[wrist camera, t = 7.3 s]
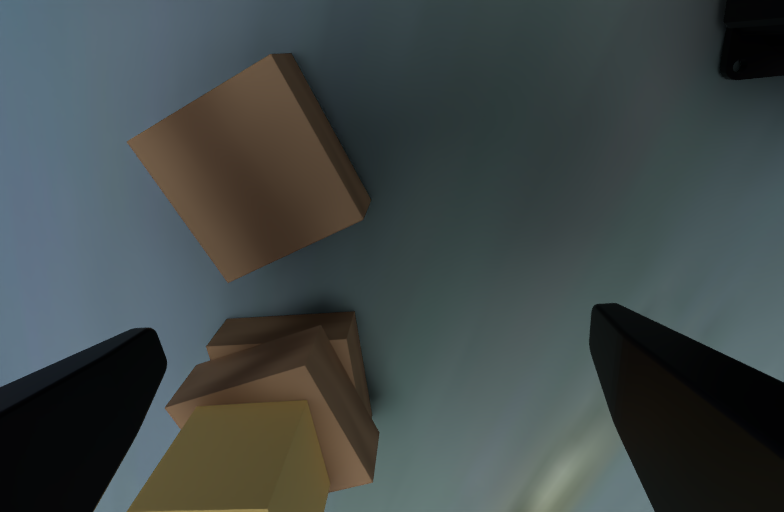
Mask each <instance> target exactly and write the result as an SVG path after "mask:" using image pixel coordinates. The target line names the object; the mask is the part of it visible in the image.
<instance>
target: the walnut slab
mask: <svg viewBox="0 0 784 512" xmlns="http://www.w3.org/2000/svg"><path fill="white" fill-rule="evenodd" d="M127 143H128V144H129V146H130V147H131V148H132V150H133V151H134V153H135V154H136V155H137V157H138V158H139V160H140V161H141V162H142V164H143V165H144V167H145V168H146V169H147V171H148V172H149V173H150V175H151V176H152V178H153V179H154V180H155V182H156V183H157V185H158V186H159V187H160V189H161V190H162V192H163V193H164V194H165V196H166V197H167V199H168V200H169V201H170V203H171V204H172V206H173V207H174V208H175V210H176V211H177V213H178V214H179V215H180V217H181V218H182V220H183V221H184V222H185V224H186V225H187V226H188V228H189V229H190V231H191V232H192V233H193V235H194V236H195V238H196V239H197V240H198V242H199V243H200V245H201V246H202V247H203V249H204V250H205V252H206V253H207V254H208V256H209V257H210V259H211V260H212V261H213V263H214V264H215V266H216V267H217V268H218V270H219V271H220V273H221V274H222V275H223V277H224V278H225V279H226V281H227V282H228V283H229V282H231V281H233V280H235V279H238V278H240V277H242V276H244V275H246V274H248V273H250V272H252V271H255V270H257V269H259V268H261V267H263V266H265V265H267V264H270V263H272V262H274V261H276V260H278V259H280V258H282V257H285V256H287V255H289V254H291V253H293V252H295V251H297V250H300V249H302V248H304V247H306V246H308V245H310V244H312V243H315V242H317V241H319V240H321V239H323V238H325V237H327V236H329V235H332V234H334V233H336V232H338V231H340V230H342V229H344V228H347V227H349V226H351V225H353V224H355V223H357V222H359V221H362V220H363V219H364V217H365V214H366V212H367V209H368V207H369V204H370V202H371V199H370V197H369V195H368V193H367V191H366V190H365V188H364V186H363V184H362V182H361V180H360V179H359V177H358V175H357V173H356V171H355V169H354V168H353V166H352V164H351V162H350V160H349V158H348V157H347V155H346V153H345V151H344V149H343V147H342V146H341V144H340V142H339V140H338V138H337V136H336V134H335V133H334V131H333V129H332V127H331V125H330V123H329V122H328V120H327V118H326V116H325V114H324V112H323V111H322V109H321V107H320V105H319V103H318V101H317V100H316V98H315V96H314V94H313V92H312V90H311V88H310V87H309V85H308V83H307V81H306V79H305V77H304V76H303V74H302V72H301V70H300V68H299V66H298V65H297V63H296V61H295V59H294V57H293V55H292V54H291V53H285V54H270V55H268V56H267V57H265V58H263V59H262V60H260V61H258V62H257V63H255V64H253V65H252V66H250V67H249V68H247V69H245V70H244V71H242V72H240V73H239V74H237V75H235V76H234V77H232V78H230V79H229V80H227V81H226V82H224V83H222V84H221V85H219V86H217V87H216V88H214V89H212V90H211V91H209V92H207V93H206V94H204V95H203V96H201V97H199V98H198V99H196V100H194V101H193V102H191V103H189V104H188V105H186V106H184V107H183V108H181V109H179V110H178V111H176V112H175V113H173V114H171V115H170V116H168V117H166V118H165V119H163V120H161V121H160V122H158V123H156V124H155V125H153V126H152V127H150V128H148V129H147V130H145V131H143V132H142V133H140V134H138V135H137V136H135V137H133V138H132V139H130V140H129V141H127Z"/></svg>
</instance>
